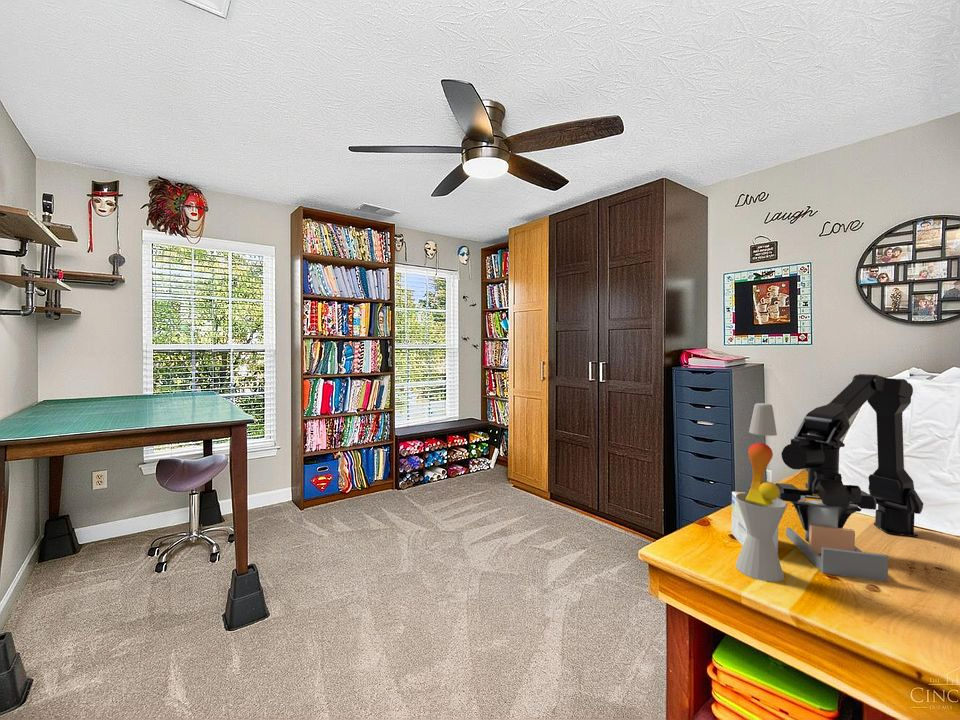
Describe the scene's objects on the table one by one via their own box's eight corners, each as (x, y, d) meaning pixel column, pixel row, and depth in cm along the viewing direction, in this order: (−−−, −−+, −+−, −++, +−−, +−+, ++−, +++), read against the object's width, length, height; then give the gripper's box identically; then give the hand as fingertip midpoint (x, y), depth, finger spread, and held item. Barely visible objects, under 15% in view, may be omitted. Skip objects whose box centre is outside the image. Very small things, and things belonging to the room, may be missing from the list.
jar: (829, 539, 106) (831, 501, 106) (842, 549, 101) (843, 510, 100) (800, 535, 108) (801, 499, 108) (811, 545, 102) (812, 507, 102)
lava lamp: (726, 568, 93) (730, 402, 92) (744, 556, 99) (749, 400, 98) (775, 587, 86) (780, 407, 85) (792, 573, 92) (796, 404, 91)
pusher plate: (851, 555, 99) (852, 529, 99) (854, 558, 98) (855, 531, 98) (808, 550, 101) (809, 524, 101) (810, 553, 100) (811, 526, 100)
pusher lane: (837, 540, 108) (838, 520, 108) (887, 581, 89) (888, 556, 89) (785, 535, 111) (786, 515, 111) (822, 573, 92) (823, 549, 92)
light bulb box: (778, 555, 100) (780, 507, 100) (746, 551, 101) (747, 505, 101) (759, 535, 110) (760, 492, 110) (729, 533, 112) (730, 490, 112)
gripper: (790, 471, 99) (788, 540, 99) (892, 479, 94) (890, 552, 94) (773, 459, 110) (771, 522, 110) (863, 466, 104) (861, 532, 105)
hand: (821, 531), depth 104 cm, fingers closed on jar, 6 cm apart
